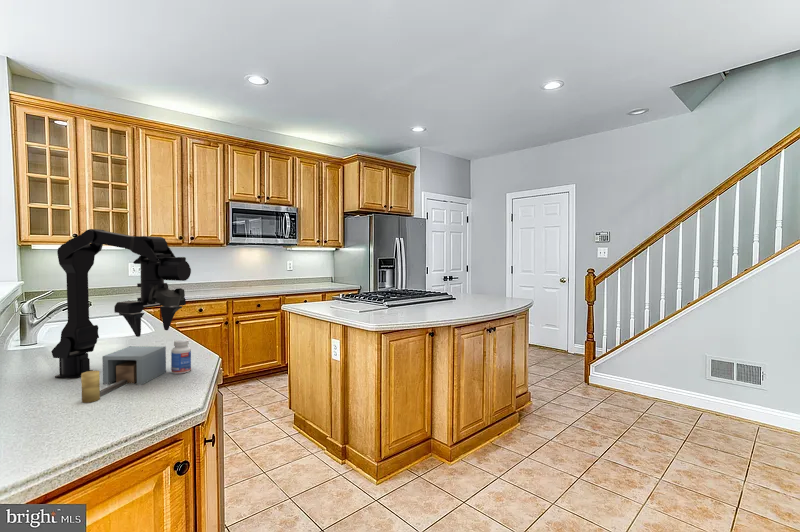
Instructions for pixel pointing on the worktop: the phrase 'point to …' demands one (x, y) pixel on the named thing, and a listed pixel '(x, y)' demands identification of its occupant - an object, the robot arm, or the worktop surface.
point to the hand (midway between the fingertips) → (152, 333)
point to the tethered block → (92, 386)
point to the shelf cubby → (147, 358)
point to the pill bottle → (181, 357)
